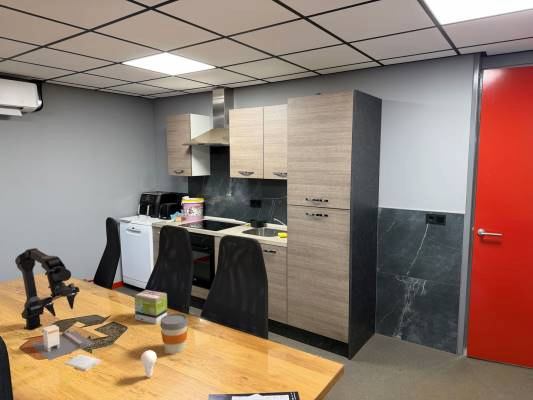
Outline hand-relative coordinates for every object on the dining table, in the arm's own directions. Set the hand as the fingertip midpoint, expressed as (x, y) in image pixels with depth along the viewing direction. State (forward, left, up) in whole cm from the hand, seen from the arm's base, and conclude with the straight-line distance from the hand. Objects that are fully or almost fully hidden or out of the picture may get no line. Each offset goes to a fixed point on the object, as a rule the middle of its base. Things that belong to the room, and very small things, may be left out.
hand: (63, 312), depth 183 cm
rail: (+7, -1, -13) cm, 15 cm away
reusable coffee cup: (+58, +9, -14) cm, 60 cm away
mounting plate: (+5, -6, -13) cm, 15 cm away
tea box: (+26, +34, -14) cm, 45 cm away
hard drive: (+27, -15, -14) cm, 34 cm away
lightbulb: (+61, -14, -14) cm, 64 cm away
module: (+4, -10, -13) cm, 17 cm away
